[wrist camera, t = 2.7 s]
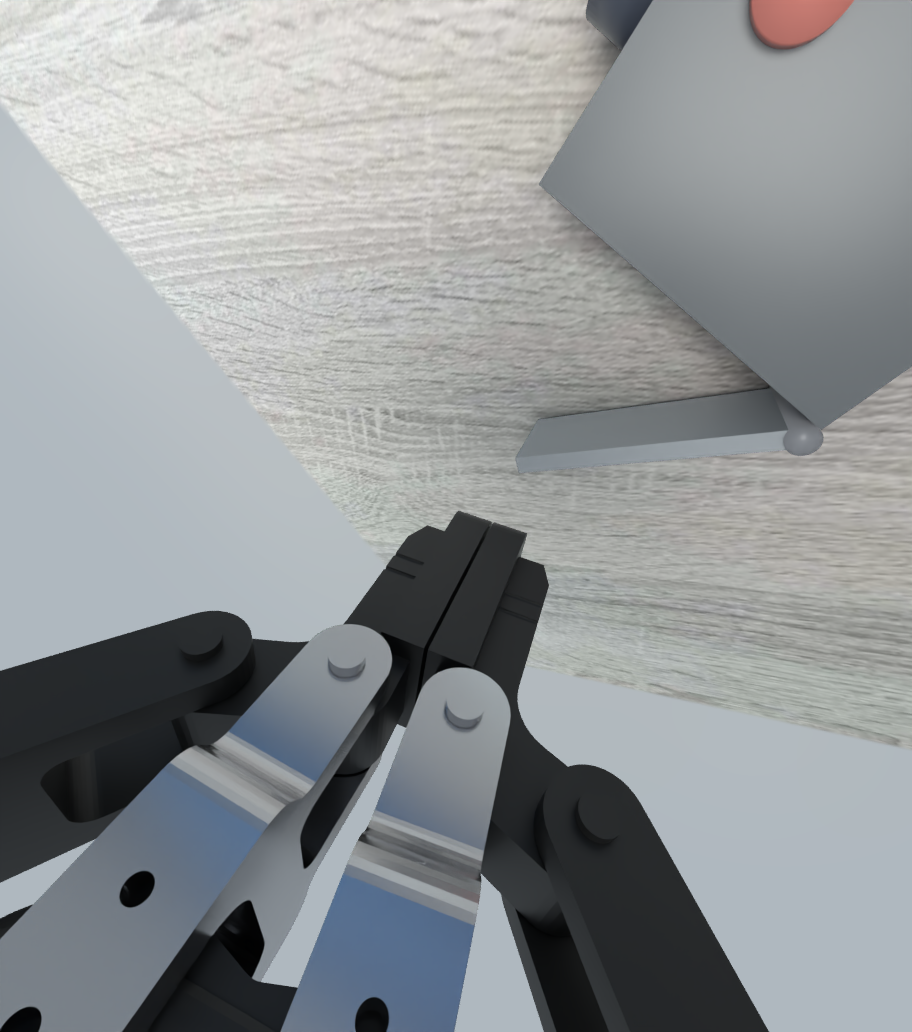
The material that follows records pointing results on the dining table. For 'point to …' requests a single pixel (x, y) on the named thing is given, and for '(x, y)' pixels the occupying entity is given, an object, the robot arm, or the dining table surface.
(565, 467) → the side door
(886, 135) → the camera body
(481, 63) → the dining table surface
